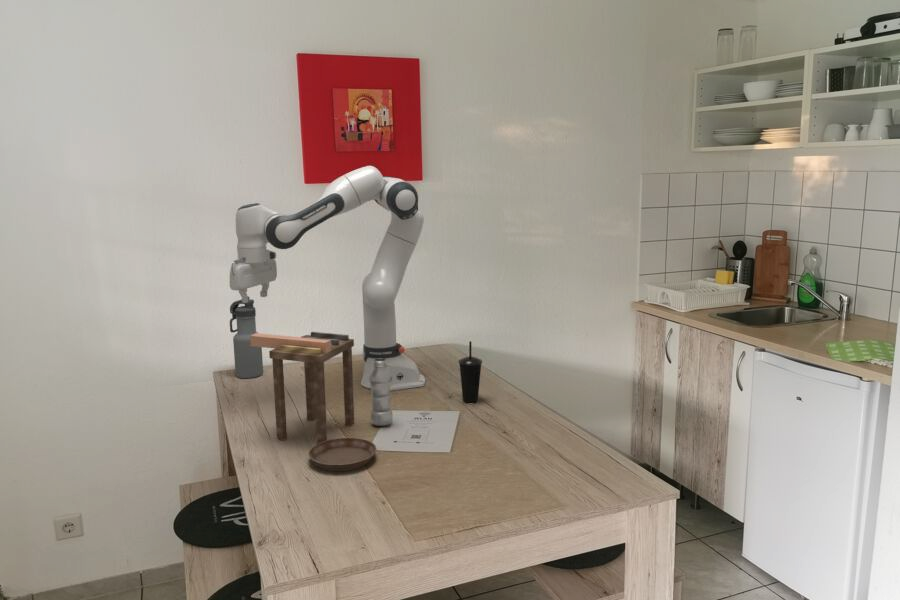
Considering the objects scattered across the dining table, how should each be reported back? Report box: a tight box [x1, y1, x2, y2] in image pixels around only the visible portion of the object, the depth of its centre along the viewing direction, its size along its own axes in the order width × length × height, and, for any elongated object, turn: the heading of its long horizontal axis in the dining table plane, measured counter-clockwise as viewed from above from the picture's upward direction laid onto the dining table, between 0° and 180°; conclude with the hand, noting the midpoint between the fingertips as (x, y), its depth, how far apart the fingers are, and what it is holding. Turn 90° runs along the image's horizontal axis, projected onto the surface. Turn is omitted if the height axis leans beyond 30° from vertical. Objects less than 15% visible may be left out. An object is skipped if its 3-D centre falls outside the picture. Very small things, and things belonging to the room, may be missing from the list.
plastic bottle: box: [369, 358, 394, 427], centre depth 208 cm, size 6×7×20 cm
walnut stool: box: [268, 331, 355, 445], centre depth 202 cm, size 16×19×28 cm
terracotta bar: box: [250, 332, 331, 354], centre depth 196 cm, size 24×3×3 cm, turn 70°
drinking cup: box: [458, 341, 483, 404], centre depth 227 cm, size 8×8×20 cm
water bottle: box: [229, 298, 264, 380], centre depth 256 cm, size 10×10×28 cm
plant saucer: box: [307, 437, 377, 472], centre depth 185 cm, size 18×18×3 cm
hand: (255, 299), depth 223 cm, fingers open, 8 cm apart
